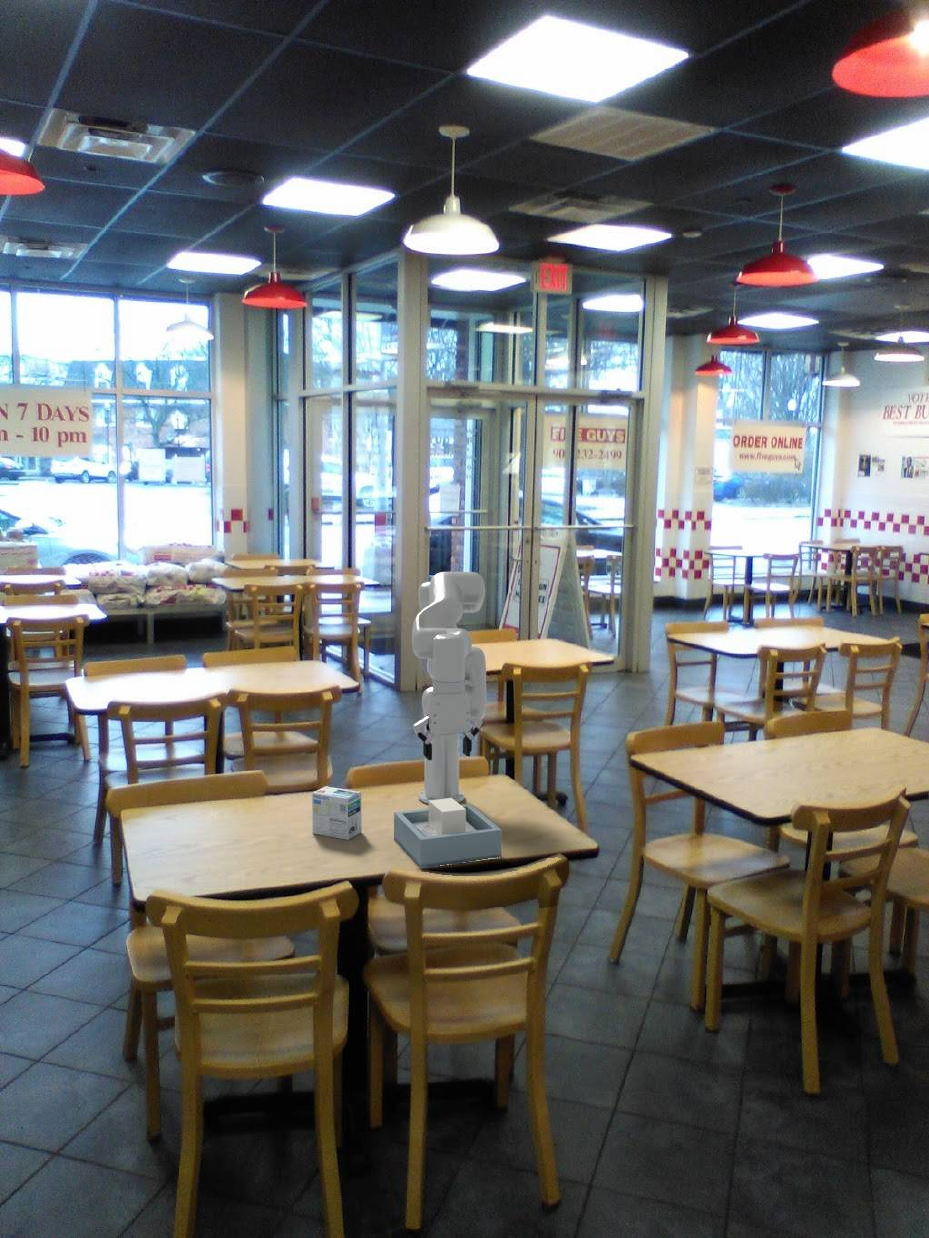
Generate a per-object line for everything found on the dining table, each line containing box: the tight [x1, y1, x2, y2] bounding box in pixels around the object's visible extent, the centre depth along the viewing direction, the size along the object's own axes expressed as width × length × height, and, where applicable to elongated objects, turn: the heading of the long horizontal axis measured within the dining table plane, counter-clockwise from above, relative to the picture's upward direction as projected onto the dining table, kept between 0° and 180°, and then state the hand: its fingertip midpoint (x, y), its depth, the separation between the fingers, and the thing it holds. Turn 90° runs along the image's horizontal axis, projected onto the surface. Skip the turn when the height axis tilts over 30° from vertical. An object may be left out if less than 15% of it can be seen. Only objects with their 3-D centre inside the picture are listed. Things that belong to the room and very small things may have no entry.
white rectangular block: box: [428, 798, 466, 835], centre depth 257 cm, size 9×6×6 cm, turn 23°
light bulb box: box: [311, 785, 362, 841], centre depth 267 cm, size 11×7×11 cm, turn 65°
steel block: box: [412, 821, 477, 837], centre depth 257 cm, size 13×13×4 cm
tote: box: [393, 803, 502, 870], centre depth 257 cm, size 20×20×7 cm
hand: (447, 756), depth 255 cm, fingers open, 9 cm apart
